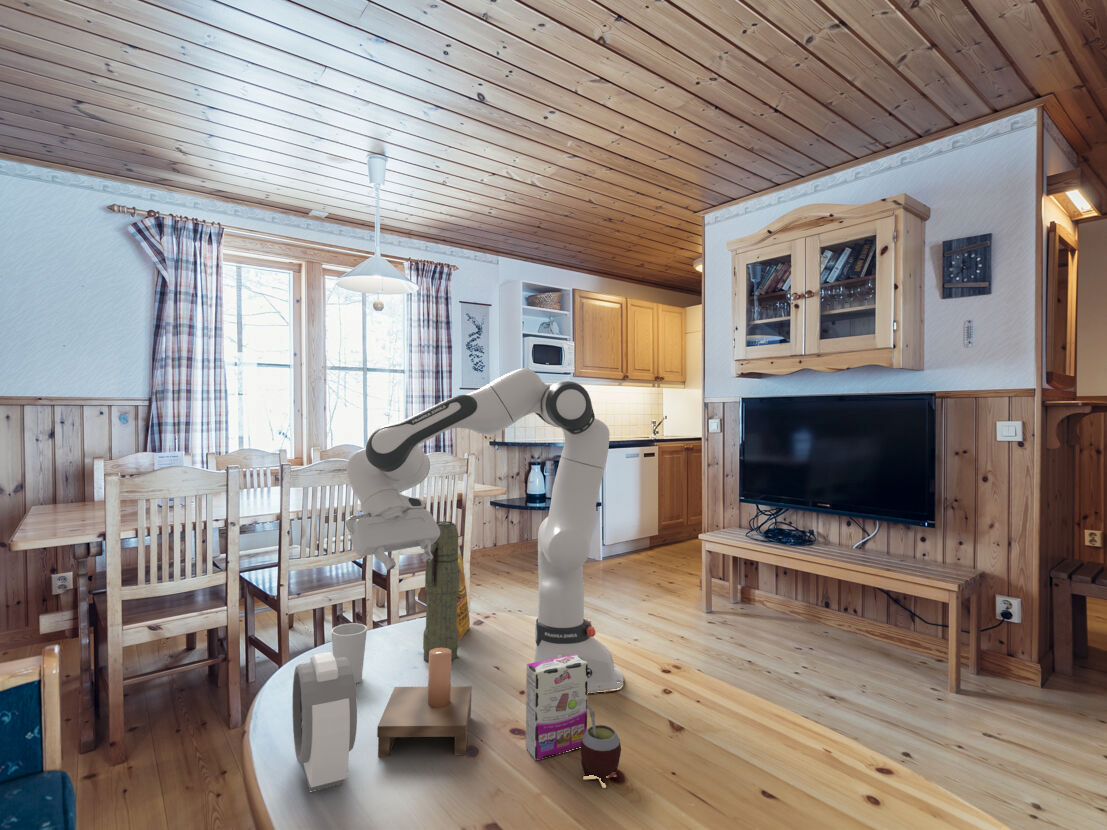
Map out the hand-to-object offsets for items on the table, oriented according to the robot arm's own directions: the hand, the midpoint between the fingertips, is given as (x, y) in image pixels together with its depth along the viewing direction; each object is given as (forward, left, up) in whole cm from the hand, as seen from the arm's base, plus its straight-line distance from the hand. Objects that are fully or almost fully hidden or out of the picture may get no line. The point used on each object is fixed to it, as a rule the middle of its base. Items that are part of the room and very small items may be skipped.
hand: (410, 563), depth 127 cm
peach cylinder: (-8, +8, -25) cm, 28 cm away
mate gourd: (-38, +25, -32) cm, 55 cm away
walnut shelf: (-6, +10, -31) cm, 33 cm away
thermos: (-4, -28, -32) cm, 43 cm away
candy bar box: (-31, +15, -32) cm, 46 cm away
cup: (+16, -15, -32) cm, 39 cm away
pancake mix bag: (-6, -45, -32) cm, 56 cm away
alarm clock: (+11, +21, -32) cm, 40 cm away
